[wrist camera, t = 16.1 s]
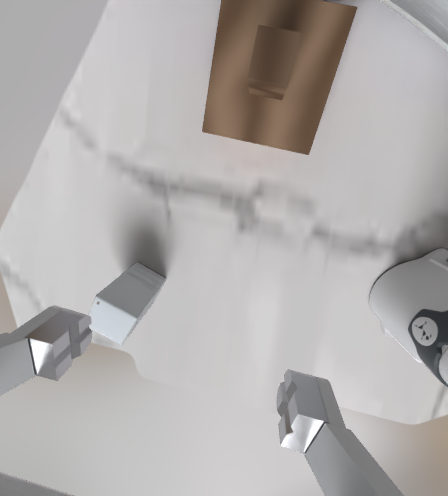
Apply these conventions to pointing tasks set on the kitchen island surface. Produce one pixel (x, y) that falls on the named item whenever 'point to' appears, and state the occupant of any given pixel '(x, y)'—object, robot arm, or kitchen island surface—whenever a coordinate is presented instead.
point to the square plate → (425, 16)
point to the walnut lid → (274, 69)
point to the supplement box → (125, 302)
